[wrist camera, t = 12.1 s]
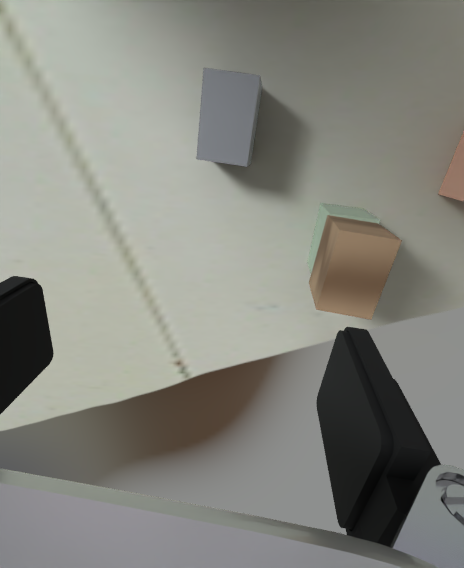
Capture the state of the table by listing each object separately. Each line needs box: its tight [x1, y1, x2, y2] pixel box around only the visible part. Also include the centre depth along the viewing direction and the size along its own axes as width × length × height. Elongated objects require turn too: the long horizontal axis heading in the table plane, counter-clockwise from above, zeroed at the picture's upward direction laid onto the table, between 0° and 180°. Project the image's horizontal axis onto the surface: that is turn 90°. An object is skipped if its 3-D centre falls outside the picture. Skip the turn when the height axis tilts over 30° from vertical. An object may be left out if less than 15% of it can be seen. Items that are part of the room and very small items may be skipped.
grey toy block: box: [197, 68, 262, 167], centre depth 25 cm, size 6×4×5 cm, turn 172°
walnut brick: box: [309, 215, 402, 320], centre depth 23 cm, size 6×4×5 cm, turn 172°
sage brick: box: [307, 203, 380, 273], centre depth 28 cm, size 6×4×5 cm, turn 174°
